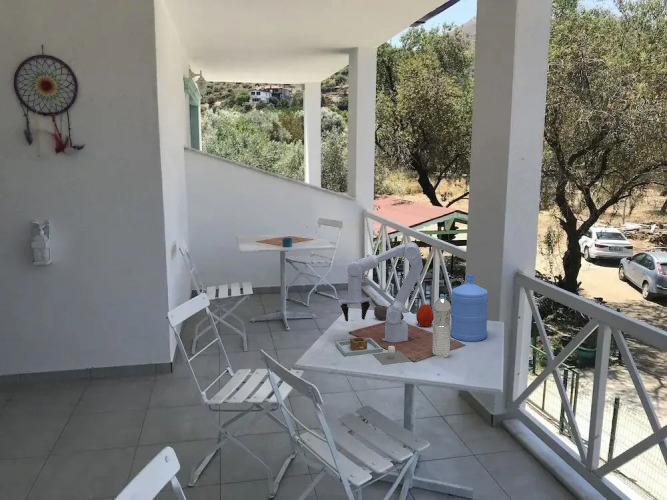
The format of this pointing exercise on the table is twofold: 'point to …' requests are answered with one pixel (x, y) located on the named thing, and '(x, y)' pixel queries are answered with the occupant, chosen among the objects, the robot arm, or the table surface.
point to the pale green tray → (359, 352)
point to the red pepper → (424, 315)
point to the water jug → (469, 311)
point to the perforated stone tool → (382, 312)
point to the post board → (392, 361)
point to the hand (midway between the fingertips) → (355, 319)
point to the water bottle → (441, 327)
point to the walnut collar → (358, 344)
